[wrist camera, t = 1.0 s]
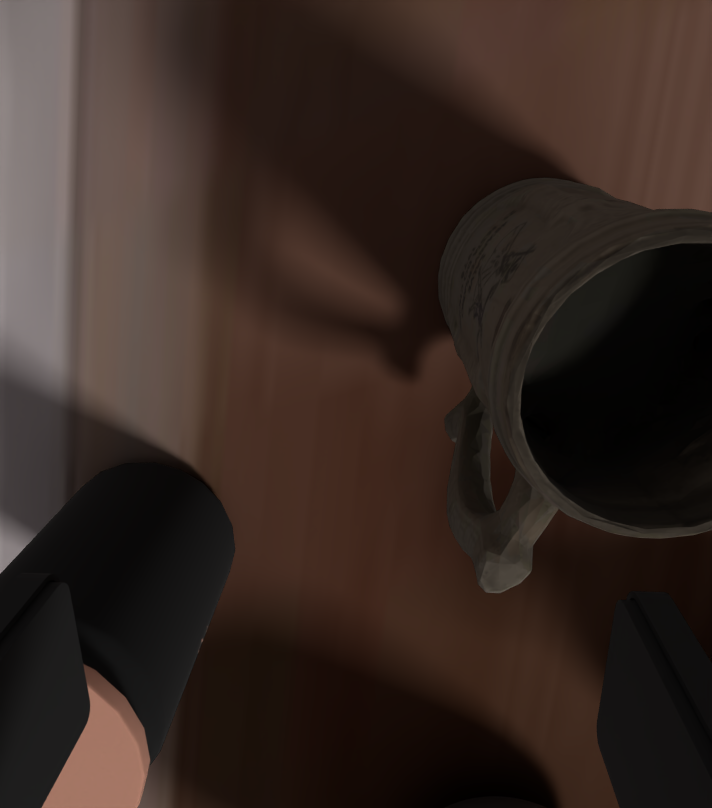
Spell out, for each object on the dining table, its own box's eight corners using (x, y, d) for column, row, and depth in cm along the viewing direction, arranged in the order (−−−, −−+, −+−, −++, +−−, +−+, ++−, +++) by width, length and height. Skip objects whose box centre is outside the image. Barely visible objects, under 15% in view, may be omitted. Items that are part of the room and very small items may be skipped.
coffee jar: (106, 608, 46) (-58, 868, 29) (53, 468, 42) (-169, 672, 26) (257, 586, 45) (177, 844, 28) (214, 440, 41) (94, 634, 24)
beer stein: (491, 131, 35) (584, 153, 16) (679, 206, 35) (968, 307, 17) (384, 388, 41) (365, 614, 22) (547, 447, 42) (656, 712, 23)
